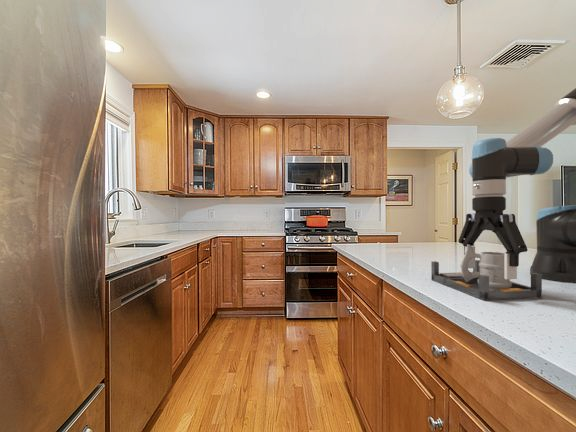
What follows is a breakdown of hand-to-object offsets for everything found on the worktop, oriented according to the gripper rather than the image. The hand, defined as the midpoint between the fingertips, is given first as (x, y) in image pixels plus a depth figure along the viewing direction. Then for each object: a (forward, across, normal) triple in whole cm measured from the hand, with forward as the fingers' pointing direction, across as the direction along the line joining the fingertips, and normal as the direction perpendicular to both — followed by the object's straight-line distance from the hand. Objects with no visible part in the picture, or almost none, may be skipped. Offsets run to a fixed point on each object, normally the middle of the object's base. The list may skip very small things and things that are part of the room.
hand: (488, 273), depth 77 cm
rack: (+5, -3, 0) cm, 6 cm away
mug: (+5, -1, 0) cm, 5 cm away
